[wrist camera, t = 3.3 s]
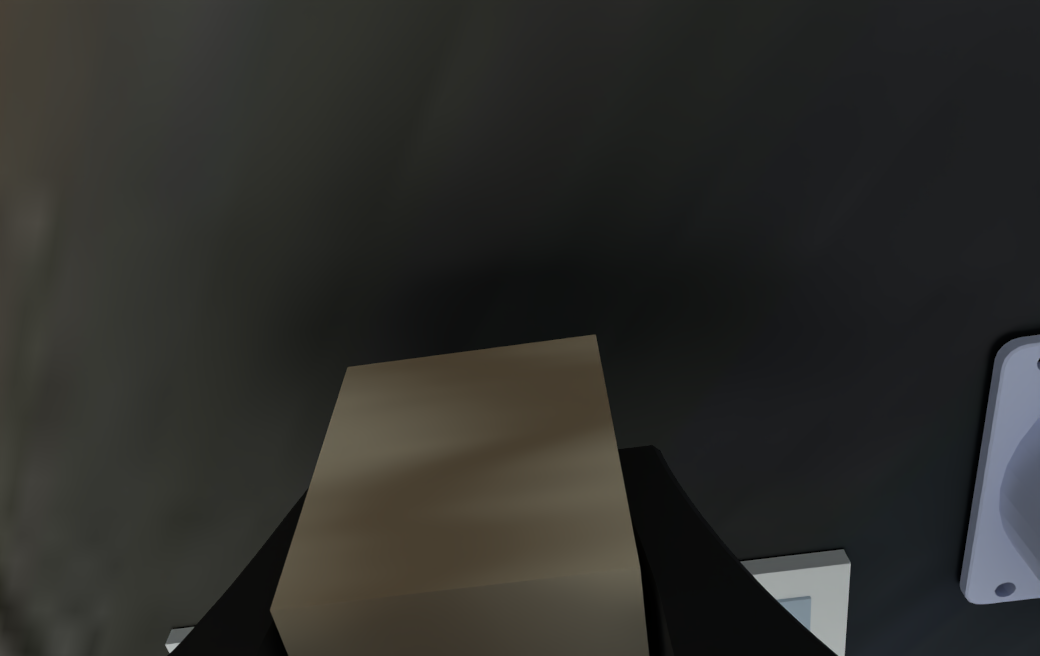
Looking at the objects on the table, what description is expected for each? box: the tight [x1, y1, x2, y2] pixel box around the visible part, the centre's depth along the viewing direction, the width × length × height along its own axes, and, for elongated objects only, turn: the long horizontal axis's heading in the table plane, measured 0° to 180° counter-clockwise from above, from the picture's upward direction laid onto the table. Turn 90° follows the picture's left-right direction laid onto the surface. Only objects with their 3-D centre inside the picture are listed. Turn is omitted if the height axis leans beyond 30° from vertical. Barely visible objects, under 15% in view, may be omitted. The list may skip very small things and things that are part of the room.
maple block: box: [270, 334, 649, 656], centre depth 12 cm, size 4×4×5 cm
